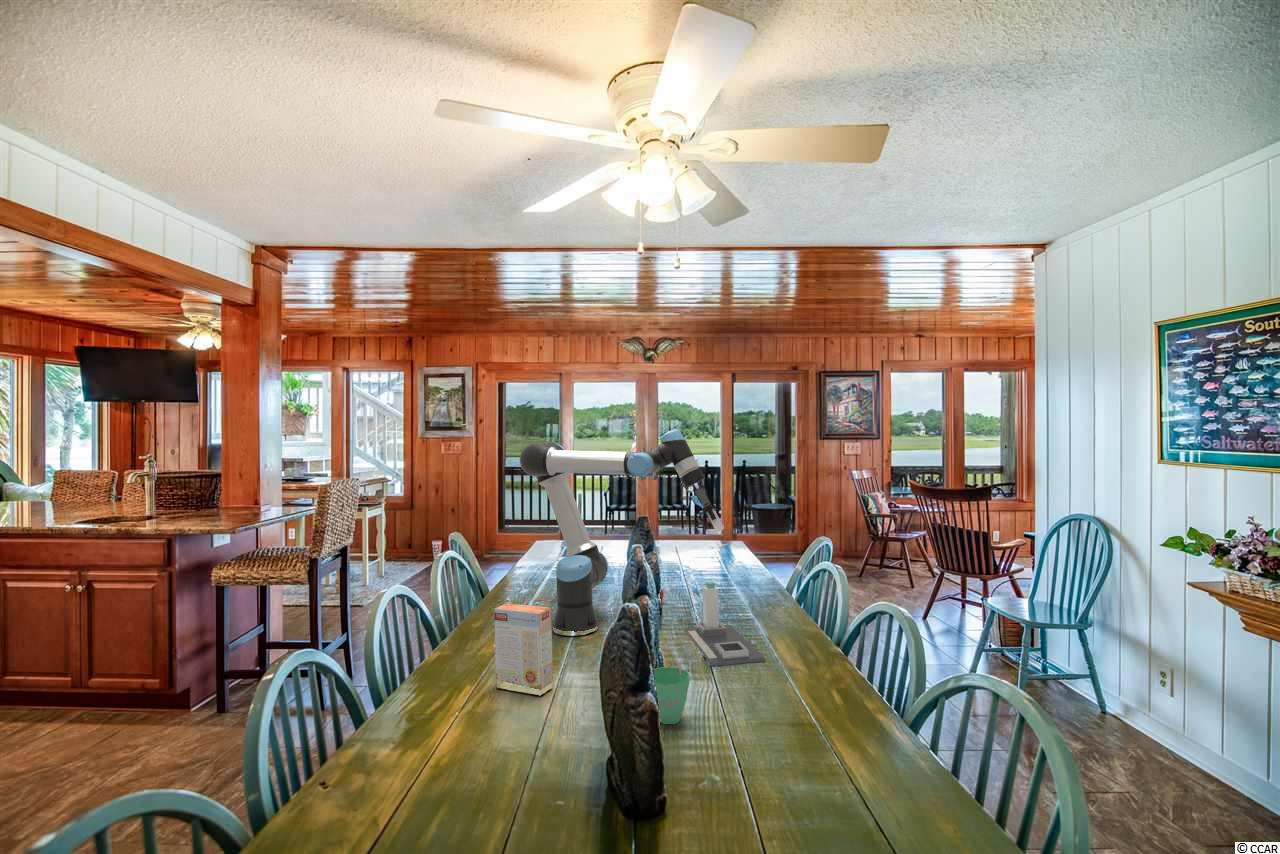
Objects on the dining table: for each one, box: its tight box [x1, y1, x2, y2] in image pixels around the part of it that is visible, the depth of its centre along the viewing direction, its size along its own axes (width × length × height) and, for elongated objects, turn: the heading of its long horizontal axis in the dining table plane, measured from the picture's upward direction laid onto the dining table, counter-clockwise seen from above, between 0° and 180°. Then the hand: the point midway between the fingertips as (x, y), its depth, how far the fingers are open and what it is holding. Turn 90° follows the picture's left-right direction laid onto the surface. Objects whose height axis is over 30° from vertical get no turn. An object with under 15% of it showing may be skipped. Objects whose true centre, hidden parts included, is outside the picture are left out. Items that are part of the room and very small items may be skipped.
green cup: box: [653, 666, 691, 725], centre depth 138 cm, size 15×10×10 cm
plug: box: [702, 581, 720, 629], centre depth 194 cm, size 4×4×16 cm
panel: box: [683, 620, 766, 667], centre depth 184 cm, size 16×30×3 cm, turn 10°
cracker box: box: [493, 602, 554, 690], centre depth 157 cm, size 14×6×21 cm, turn 65°
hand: (720, 529), depth 200 cm, fingers open, 13 cm apart
